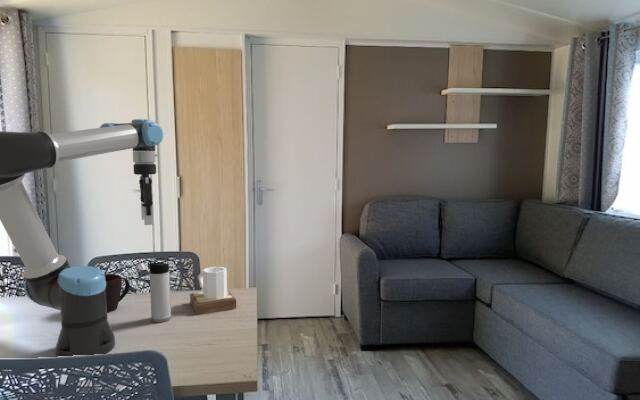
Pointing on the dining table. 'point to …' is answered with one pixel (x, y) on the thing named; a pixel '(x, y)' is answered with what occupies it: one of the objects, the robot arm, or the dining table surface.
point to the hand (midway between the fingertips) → (147, 222)
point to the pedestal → (211, 303)
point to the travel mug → (160, 292)
